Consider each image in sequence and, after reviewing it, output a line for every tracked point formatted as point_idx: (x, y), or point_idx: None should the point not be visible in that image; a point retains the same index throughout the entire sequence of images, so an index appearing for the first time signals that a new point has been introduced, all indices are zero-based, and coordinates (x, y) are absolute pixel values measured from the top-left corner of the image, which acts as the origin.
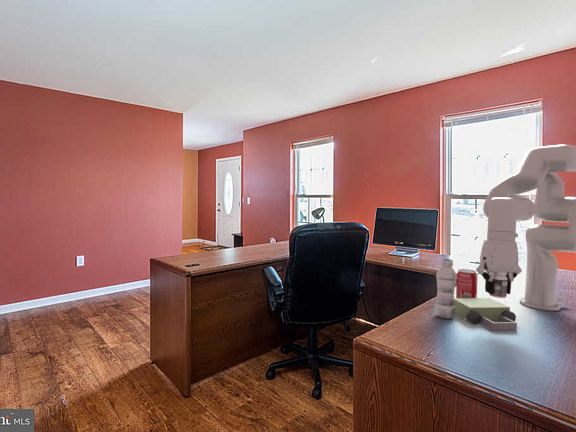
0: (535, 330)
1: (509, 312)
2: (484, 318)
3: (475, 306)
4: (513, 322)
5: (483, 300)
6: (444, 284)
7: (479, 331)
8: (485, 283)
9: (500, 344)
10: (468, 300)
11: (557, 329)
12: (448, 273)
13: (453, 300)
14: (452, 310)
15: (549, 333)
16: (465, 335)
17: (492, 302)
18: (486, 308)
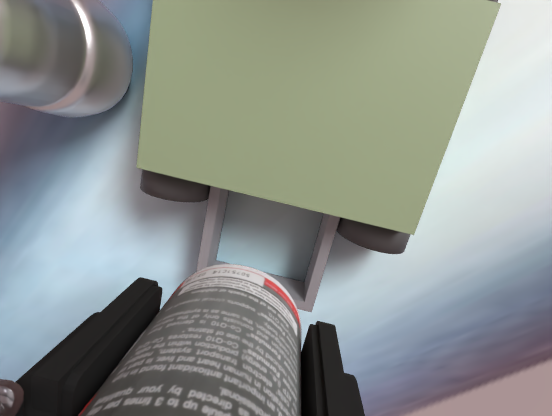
0: (399, 311)
1: (371, 248)
2: (204, 222)
3: (190, 160)
4: (299, 304)
5: (375, 54)
6: None
7: (147, 251)
8: (46, 357)
9: None
10: (249, 23)
11: (512, 332)
12: None
13: (24, 93)
14: (65, 114)
15: (422, 346)
16: (63, 264)
17: (398, 117)
18: (250, 194)
